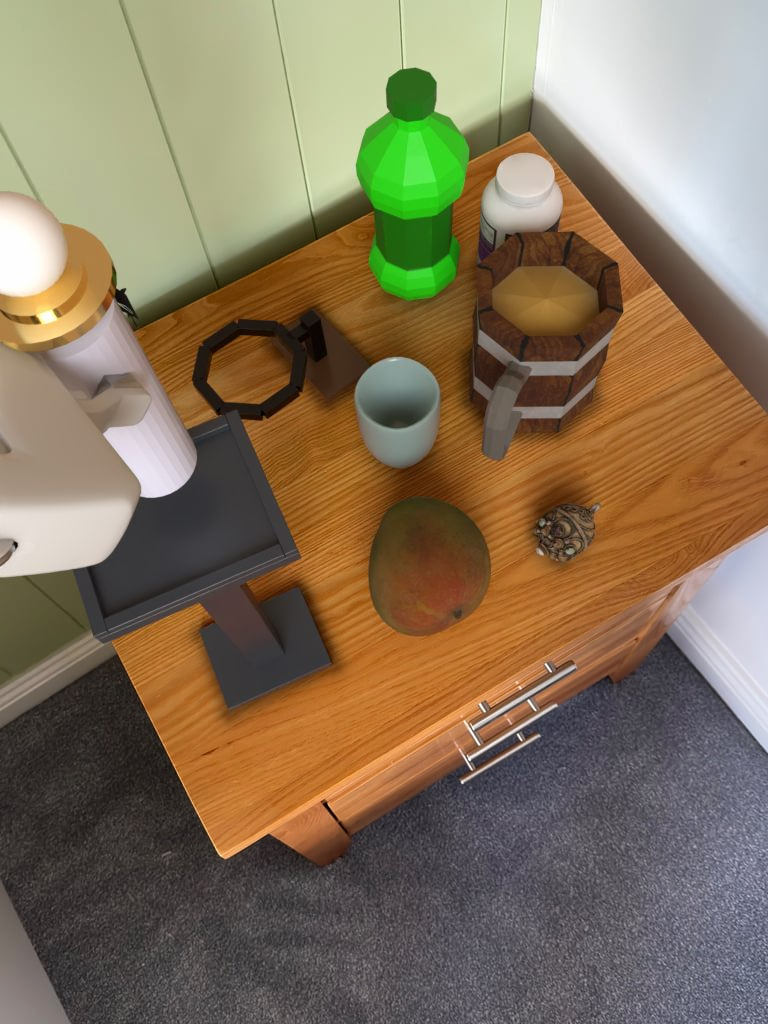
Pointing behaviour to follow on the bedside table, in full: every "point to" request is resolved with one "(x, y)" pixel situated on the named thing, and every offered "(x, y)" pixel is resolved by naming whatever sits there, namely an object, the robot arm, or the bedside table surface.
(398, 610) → the fruit
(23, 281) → the perfume bottle
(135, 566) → the pedestal tray stand
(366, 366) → the ring stand
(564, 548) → the pendant
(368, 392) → the cup
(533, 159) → the pill bottle
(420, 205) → the plastic bottle
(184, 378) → the bedside table surface
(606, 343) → the mug
